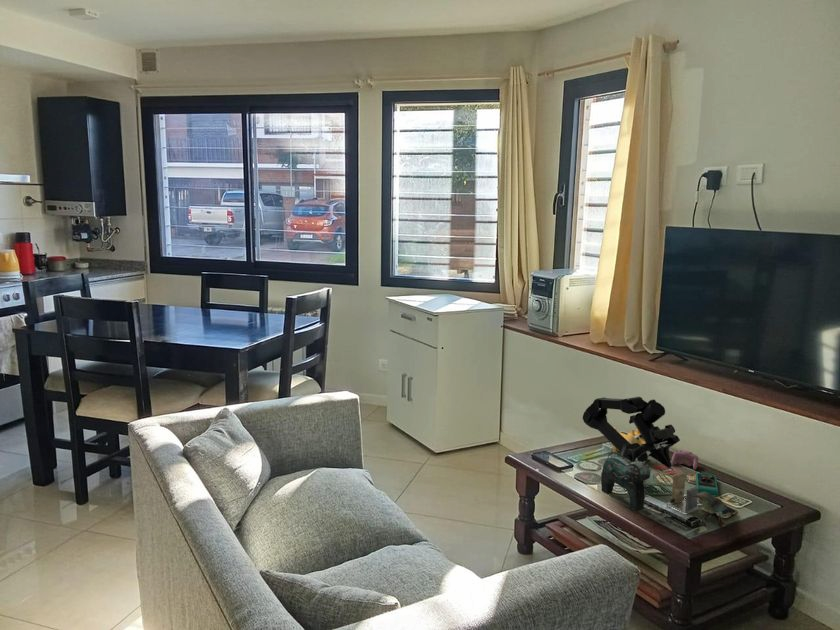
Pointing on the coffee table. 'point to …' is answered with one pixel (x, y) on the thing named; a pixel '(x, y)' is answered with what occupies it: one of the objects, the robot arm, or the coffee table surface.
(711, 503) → the bird figurine
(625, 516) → the coffee table surface
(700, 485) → the digital multimeter
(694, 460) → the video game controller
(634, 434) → the dog
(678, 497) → the light brown wooden block
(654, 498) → the coffee table surface
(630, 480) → the green animal figurine
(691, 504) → the gauge base
